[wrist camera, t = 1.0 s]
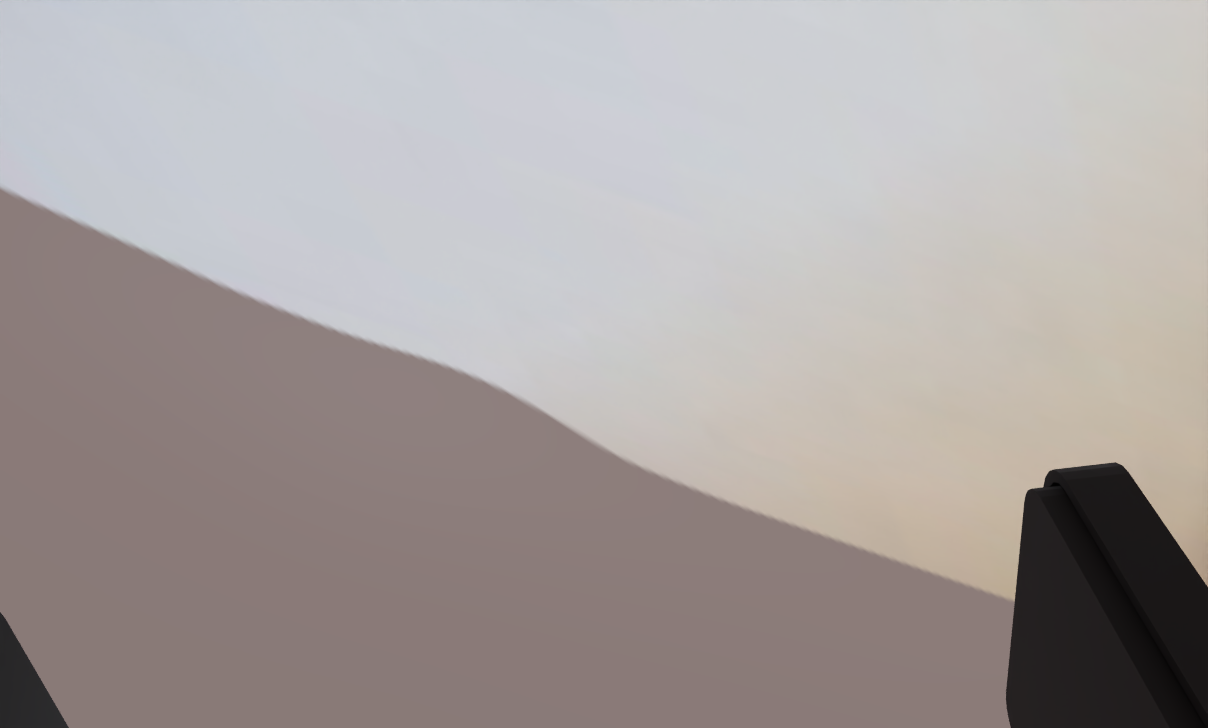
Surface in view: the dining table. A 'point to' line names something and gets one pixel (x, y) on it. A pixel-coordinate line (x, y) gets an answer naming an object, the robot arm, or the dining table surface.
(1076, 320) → the dining table surface
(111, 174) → the dining table surface
